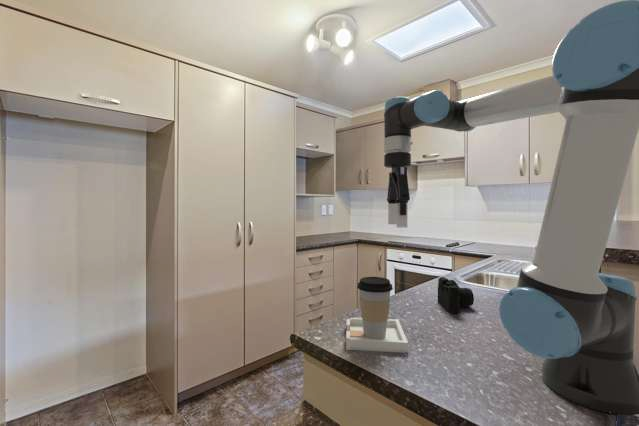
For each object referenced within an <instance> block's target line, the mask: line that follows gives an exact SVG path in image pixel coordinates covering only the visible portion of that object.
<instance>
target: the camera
mask: <svg viewBox="0 0 639 426" xmlns="http://www.w3.org/2000/svg"><path fill="white" fill-rule="evenodd" d="M474 302H475V296H474V292H473V290H472V289H471V288H469V287H460V286H459V284H458V283H457V282H456V281H455V280H454V279H449V278H447V277H445V276H440V277H439V278H438V281H437V303H438V304H439V305H440V306H441V308H443V309H444V310H445V311H446V312H447V313H448V314H450V315H459V314H460V307H472V306H473V305H474Z"/></svg>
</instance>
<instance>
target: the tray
mask: <svg viewBox="0 0 639 426" xmlns="http://www.w3.org/2000/svg"><path fill="white" fill-rule="evenodd" d="M345 336H346V337H345V348H346V349H345V350H346V351H361V352H383V353H385V352H386V353H403V354H405V353H406V354H408V353H409V341H408V339H407V337H406V335H405V332H404V330H403V327H402V325H401V322H400V320H399V319H396V318H395V319H391V318H388V320H387V327H386V335H385V338H383V339H380V340H376V339H368V338H366V337H365V336H364V332H363V322H362V317H350V318H346V333H345Z"/></svg>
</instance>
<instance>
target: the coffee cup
mask: <svg viewBox="0 0 639 426" xmlns="http://www.w3.org/2000/svg"><path fill="white" fill-rule="evenodd" d="M356 288H357V289H358V290H359V304H360V315H361V317H360V318H362V322H363V332H364V336H365V337H366V338H368V339H376V340H380V339H383V338H385V335H386V327H387V320H388V319H389V312H390V303H391V298H390V296H391V292H392V290H393V289H394V287H393V284H392V283H391V280H390V279H388V278H386V277H383V276H382V277H381V276H365V277H361V278H360V279H359V282H357V286H356Z"/></svg>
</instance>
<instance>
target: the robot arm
mask: <svg viewBox="0 0 639 426" xmlns="http://www.w3.org/2000/svg"><path fill="white" fill-rule="evenodd" d="M551 71H552V75H550V76H546V77H543V78H540V79H536V80H532V81H529V82H525V83H524V82H523V83H521V84H517V85H514V86H510V87H507V88H503V89H499V90H496V91H493V92H488V93H485V94H482V95H479V96H475V97H471V98H467V99H463V100H460V101H458V100H457V101H456V100H453V99H449V98H448V96H447V95H446V94H444V92H443V91H442V90H440V89H437V90H436V89H434V90H431V91H428V92H425V93H422V94H420V95H418V96H416V97H414V98H412V99H411V98H410V97H408V96H395V97H391V98H389V99H387V100H386V101H385V104H384V112H383V117H384V118H383V119H384V124H383V125H384V129H383V130H384V132H383V133H384V138H383V140H384V141H383V143H384V144H383V147H384V148H383V151H384V153H385V154H384V155H383V159H384V162H383V164H384V167H385V168H389V169H391V171H389V172H388V187H387V199H386V201H387V203H388V205H387V207H388V210H387V211H388V214H387V215H388V219H387V221H388V222H387V223H388V225H396V228H408V202H409V201H410V199H411V197H410V189H409V180H408V167H410V166H411V165H412V154H411V153H410V152H411V150H412V149H411V146H412V145H413V144H414V143H413V141H411V140H412V130H413V129H416V128H420V127H431V128H436V129H445V130H451V131H455V132H460V133H461V132H471V131H472V130H474V129H476V127H481V126H486V125H487V126H488V125H492V124H498V123H503V122H505V123H506V122H509V121H515V120H522V119H527V118H532V117H538V116H543V115H548V114H554V113H560V114H561V115H562V116H563V118H564V119H565V123H564V124H565V125H564V128H563V133H562V137H561V141H560V146H559V150H558V155H557V158H556V162H555V167H554V171H553V176H552V180H551V183H550V184H551V185H550V188H549V192H548V196H547V197H548V198H547V202H546V206H545V210H544V215H543V219H542V223H541V227H540V231H539V237H538V241H537V243H536V248H535V253H534V257H533V260H532V261H531V260H530V261H529V262H527V263H524V264H523V265H521V268H520V272H519V276H518V281H517V284H516V286H515V287H513V288H511V289H510V290H509V289H508V291H507V292H505V294H504V295H503V296H502V298H501V300H500V303H499V308H498V310H499V312H498V313H499V317H500V321H501V324H502V326H503V328H504V329H506V331H507V332H508V335H509V337H510V338H511V339H512V340H513V342H515V343H516V345H518V346H519V348H521V349H522V350H525V351H526V352H528V353H529V354H531V355H534V356H536V357H538V358H542V359H544V361H543V362H542V365H541V378H542V381H543V382H544V384H545V385H546V386H547V387H548V388H549V389H550V390H552V391H553V392H555V393H556V394H559V396H561V397H563V398H565V399H567V400H569V401H572V402H574V403H576V404H577V405H578V404H579V405H580V406H583V407H586V408H589V409H591V410H596V411H599V412H603V413H606V412H611V413H612V415H620V416H637V415H639V372H638V370H637V367H636V365H635V362H634V347H635V324H636V321H635V319H636V301H637V300H638V298H637V295H636V286H635V283H634V282H633V281H632V280H631V279H629V278H626V277H623V276H617V275H613V274H607V273H601V272H600V271H601V266H602V262H603V258H604V255H605V251H606V247H607V244H608V240H609V237H610V233H611V231H612V226H613V223H614V218H615V215H616V211H617V209H618V206H619V205H618V204H619V200H620V198H621V197H620V196H621V193H622V191H623V187H624V183H625V178H626V176H627V173H628V168H629V165H630V161H631V157H632V154H633V150H634V148H635V145H636V140H637V137H638V133H639V0H621V1H616V2H612V3H609V4H607V5H604V6H602V7H600V8H598V9H596V10H594V11H592V12H591V13H589V14H587V15H586V16H585V17H583V18H581V19H580V20H579V22H578V23H577V24H576V25H575V26H574V27H573V28H570V29H569V30H568V32H567V33H566V34H565V35H563V37H562V39H561V40H560V42H559V44H558V45H557V48H556V49H555V51H554V54H553V56H552V62H551ZM611 413H610V414H611Z"/></svg>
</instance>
